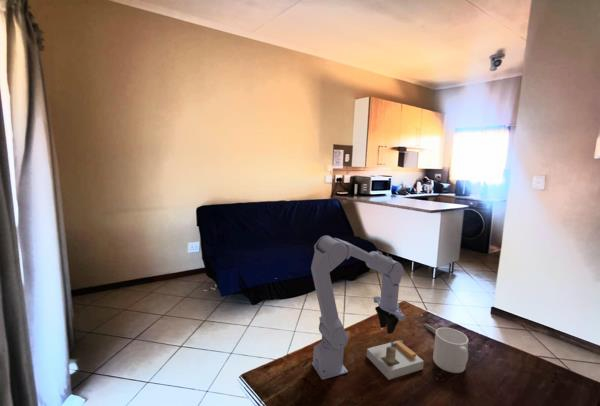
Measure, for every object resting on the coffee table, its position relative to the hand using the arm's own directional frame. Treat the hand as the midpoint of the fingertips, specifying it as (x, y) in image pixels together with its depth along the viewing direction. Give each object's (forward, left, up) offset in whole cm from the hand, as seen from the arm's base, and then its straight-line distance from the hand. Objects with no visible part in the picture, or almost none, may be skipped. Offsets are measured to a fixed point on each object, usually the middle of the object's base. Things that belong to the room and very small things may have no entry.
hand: (386, 329), depth 104 cm
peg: (-3, -7, -9) cm, 12 cm away
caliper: (+26, 0, -10) cm, 28 cm away
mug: (+18, -13, -10) cm, 24 cm away
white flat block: (0, -5, -9) cm, 10 cm away
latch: (+5, -5, -6) cm, 9 cm away
